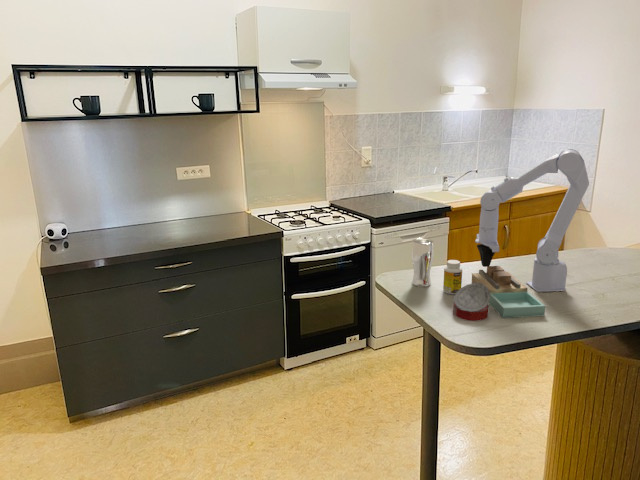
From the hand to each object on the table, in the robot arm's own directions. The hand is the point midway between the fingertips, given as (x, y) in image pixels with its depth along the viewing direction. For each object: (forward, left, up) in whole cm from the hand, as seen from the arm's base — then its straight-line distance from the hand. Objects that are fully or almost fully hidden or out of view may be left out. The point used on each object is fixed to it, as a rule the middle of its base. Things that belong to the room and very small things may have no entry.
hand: (485, 266), depth 165 cm
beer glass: (+22, +1, -5) cm, 23 cm away
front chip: (0, +13, -1) cm, 13 cm away
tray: (0, +23, -5) cm, 24 cm away
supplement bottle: (+14, +9, -5) cm, 17 cm away
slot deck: (0, +11, -5) cm, 12 cm away
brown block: (0, +8, -1) cm, 8 cm away
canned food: (+14, +25, -5) cm, 29 cm away
